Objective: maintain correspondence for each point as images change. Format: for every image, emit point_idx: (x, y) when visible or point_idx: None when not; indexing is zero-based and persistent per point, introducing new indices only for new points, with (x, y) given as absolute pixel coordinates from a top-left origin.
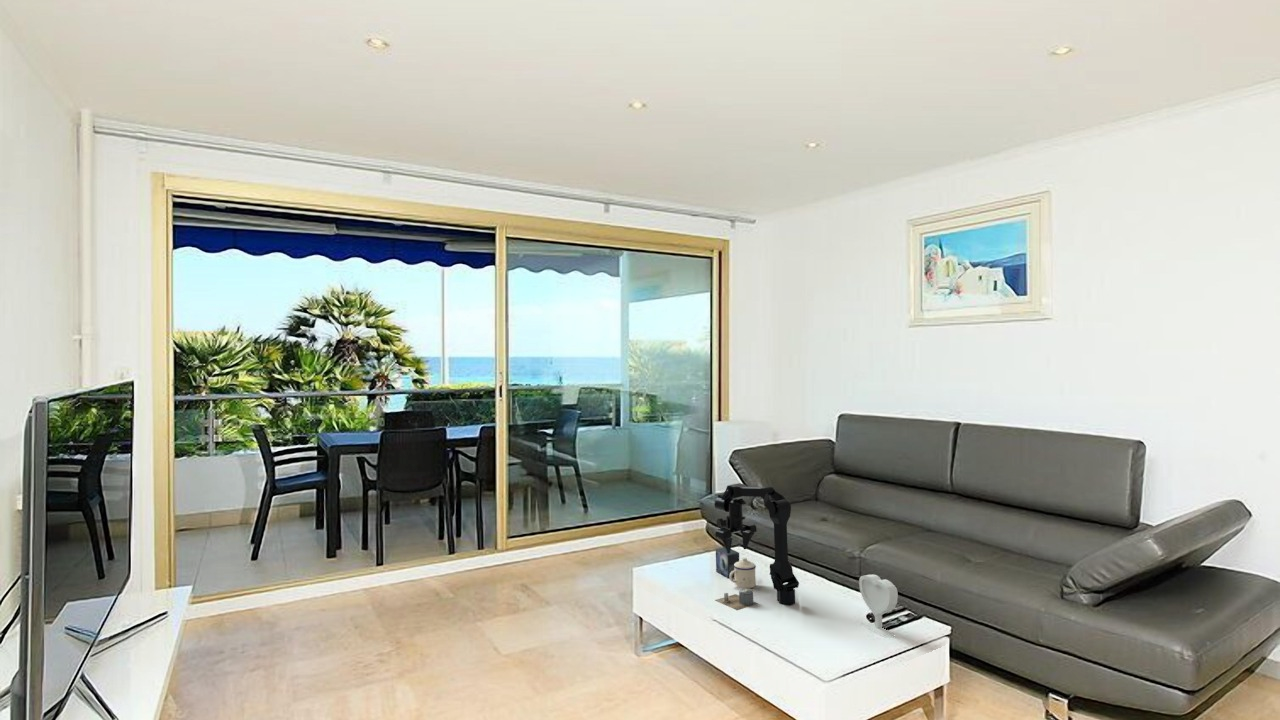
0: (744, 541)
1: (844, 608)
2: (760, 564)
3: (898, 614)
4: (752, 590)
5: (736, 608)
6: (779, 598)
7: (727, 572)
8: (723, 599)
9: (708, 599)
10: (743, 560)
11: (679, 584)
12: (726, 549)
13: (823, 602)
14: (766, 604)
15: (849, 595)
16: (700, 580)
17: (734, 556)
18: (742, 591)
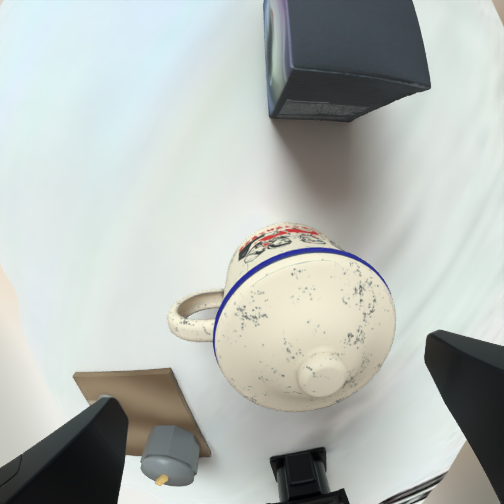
0: (496, 412)
1: (389, 482)
2: (488, 64)
3: (423, 492)
4: (190, 482)
5: (127, 449)
6: (278, 480)
7: (270, 104)
8: (103, 389)
9: (60, 340)
10: (300, 383)
11: (16, 122)
12: (72, 428)
13: (389, 462)
14: (242, 452)
15: None
16: (108, 90)
17: (368, 85)
18: (149, 473)
